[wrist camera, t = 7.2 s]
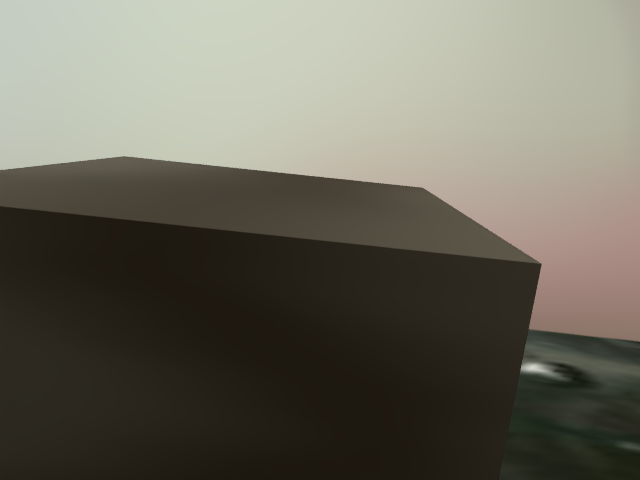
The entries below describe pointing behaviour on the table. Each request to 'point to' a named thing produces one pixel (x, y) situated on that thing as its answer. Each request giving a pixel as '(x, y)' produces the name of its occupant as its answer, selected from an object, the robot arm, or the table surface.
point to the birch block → (251, 327)
